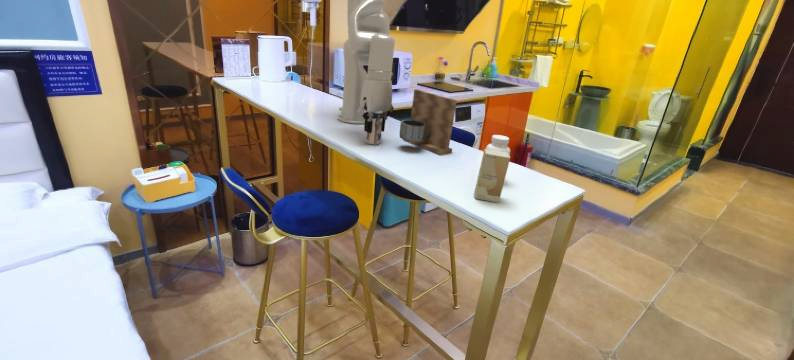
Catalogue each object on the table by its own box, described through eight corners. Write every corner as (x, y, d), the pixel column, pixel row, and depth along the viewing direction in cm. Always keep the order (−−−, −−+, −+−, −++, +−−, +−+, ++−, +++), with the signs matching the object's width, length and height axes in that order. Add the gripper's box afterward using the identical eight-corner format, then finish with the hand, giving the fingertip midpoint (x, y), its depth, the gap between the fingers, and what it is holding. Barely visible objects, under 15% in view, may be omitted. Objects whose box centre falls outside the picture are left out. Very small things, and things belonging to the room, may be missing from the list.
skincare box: (474, 199, 96) (483, 153, 92) (473, 192, 100) (483, 147, 96) (500, 203, 96) (511, 157, 91) (498, 196, 100) (509, 151, 95)
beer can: (378, 146, 128) (381, 110, 123) (364, 144, 129) (367, 108, 124) (381, 142, 132) (385, 108, 128) (368, 140, 133) (371, 106, 129)
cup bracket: (383, 142, 132) (389, 90, 126) (414, 138, 142) (421, 89, 135) (420, 159, 120) (428, 102, 114) (451, 153, 130) (460, 100, 123)
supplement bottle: (481, 173, 114) (490, 132, 110) (504, 179, 112) (514, 136, 108) (477, 180, 109) (487, 137, 104) (501, 186, 107) (511, 142, 102)
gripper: (391, 74, 130) (386, 126, 137) (350, 73, 119) (346, 130, 126) (406, 77, 125) (400, 132, 132) (365, 78, 114) (360, 137, 121)
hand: (374, 130), depth 129 cm, fingers closed on beer can, 4 cm apart
